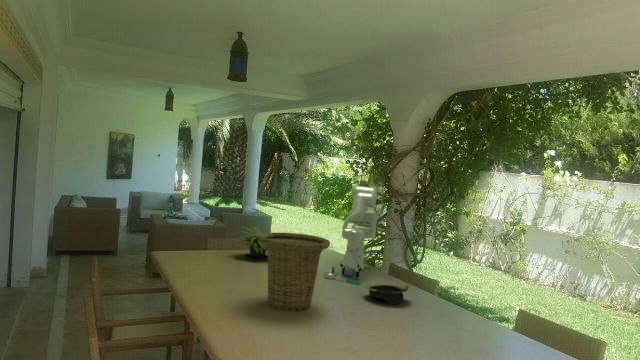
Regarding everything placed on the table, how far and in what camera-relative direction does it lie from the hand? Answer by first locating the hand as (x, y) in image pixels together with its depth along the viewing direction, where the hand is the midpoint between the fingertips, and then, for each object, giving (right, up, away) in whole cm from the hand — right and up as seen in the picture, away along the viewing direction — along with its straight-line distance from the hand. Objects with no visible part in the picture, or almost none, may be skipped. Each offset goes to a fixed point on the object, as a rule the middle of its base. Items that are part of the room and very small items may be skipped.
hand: (350, 276), depth 308 cm
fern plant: (-64, +5, +37) cm, 74 cm away
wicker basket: (-35, -1, -68) cm, 76 cm away
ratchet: (-5, -2, -6) cm, 8 cm away
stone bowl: (+16, -5, -42) cm, 45 cm away
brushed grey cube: (0, -2, 0) cm, 2 cm away
